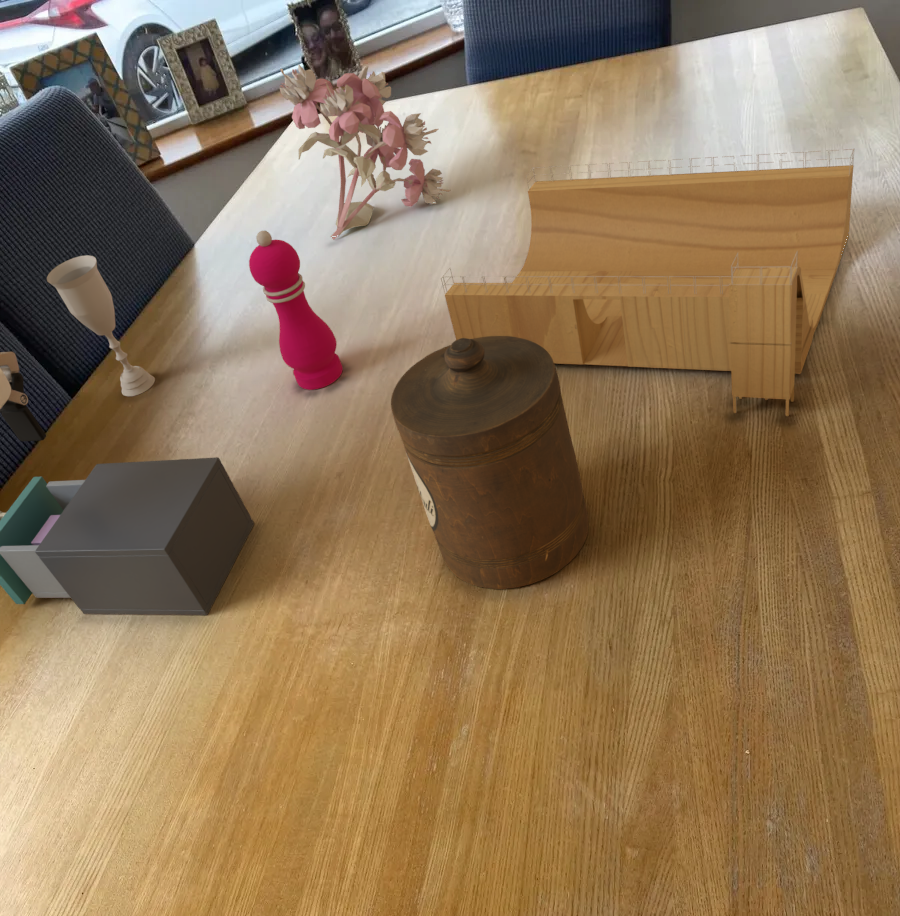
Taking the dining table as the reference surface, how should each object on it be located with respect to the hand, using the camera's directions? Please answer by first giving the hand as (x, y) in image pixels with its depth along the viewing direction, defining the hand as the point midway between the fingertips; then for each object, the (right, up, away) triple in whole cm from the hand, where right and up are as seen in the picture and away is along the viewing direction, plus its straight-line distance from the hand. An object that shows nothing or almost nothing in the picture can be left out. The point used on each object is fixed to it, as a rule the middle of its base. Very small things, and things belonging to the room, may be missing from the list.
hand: (10, 469), depth 97 cm
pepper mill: (+28, +16, +26) cm, 42 cm away
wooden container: (+52, -7, -4) cm, 52 cm away
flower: (+37, +49, +55) cm, 83 cm away
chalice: (+1, +17, +37) cm, 41 cm away
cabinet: (+15, -10, +6) cm, 19 cm away
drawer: (+2, -9, +10) cm, 14 cm away
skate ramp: (+69, +21, +17) cm, 74 cm away
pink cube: (+4, -9, +9) cm, 13 cm away
